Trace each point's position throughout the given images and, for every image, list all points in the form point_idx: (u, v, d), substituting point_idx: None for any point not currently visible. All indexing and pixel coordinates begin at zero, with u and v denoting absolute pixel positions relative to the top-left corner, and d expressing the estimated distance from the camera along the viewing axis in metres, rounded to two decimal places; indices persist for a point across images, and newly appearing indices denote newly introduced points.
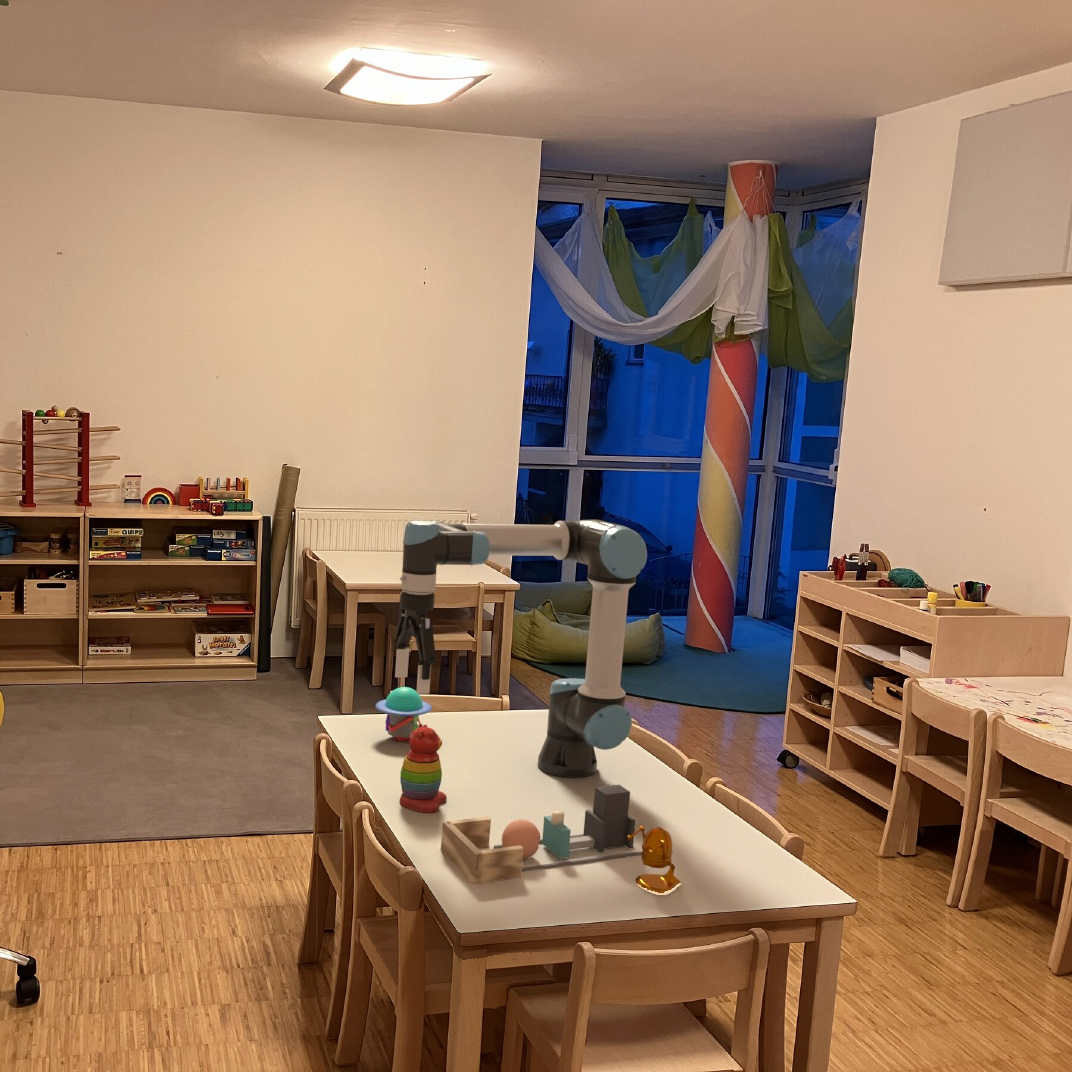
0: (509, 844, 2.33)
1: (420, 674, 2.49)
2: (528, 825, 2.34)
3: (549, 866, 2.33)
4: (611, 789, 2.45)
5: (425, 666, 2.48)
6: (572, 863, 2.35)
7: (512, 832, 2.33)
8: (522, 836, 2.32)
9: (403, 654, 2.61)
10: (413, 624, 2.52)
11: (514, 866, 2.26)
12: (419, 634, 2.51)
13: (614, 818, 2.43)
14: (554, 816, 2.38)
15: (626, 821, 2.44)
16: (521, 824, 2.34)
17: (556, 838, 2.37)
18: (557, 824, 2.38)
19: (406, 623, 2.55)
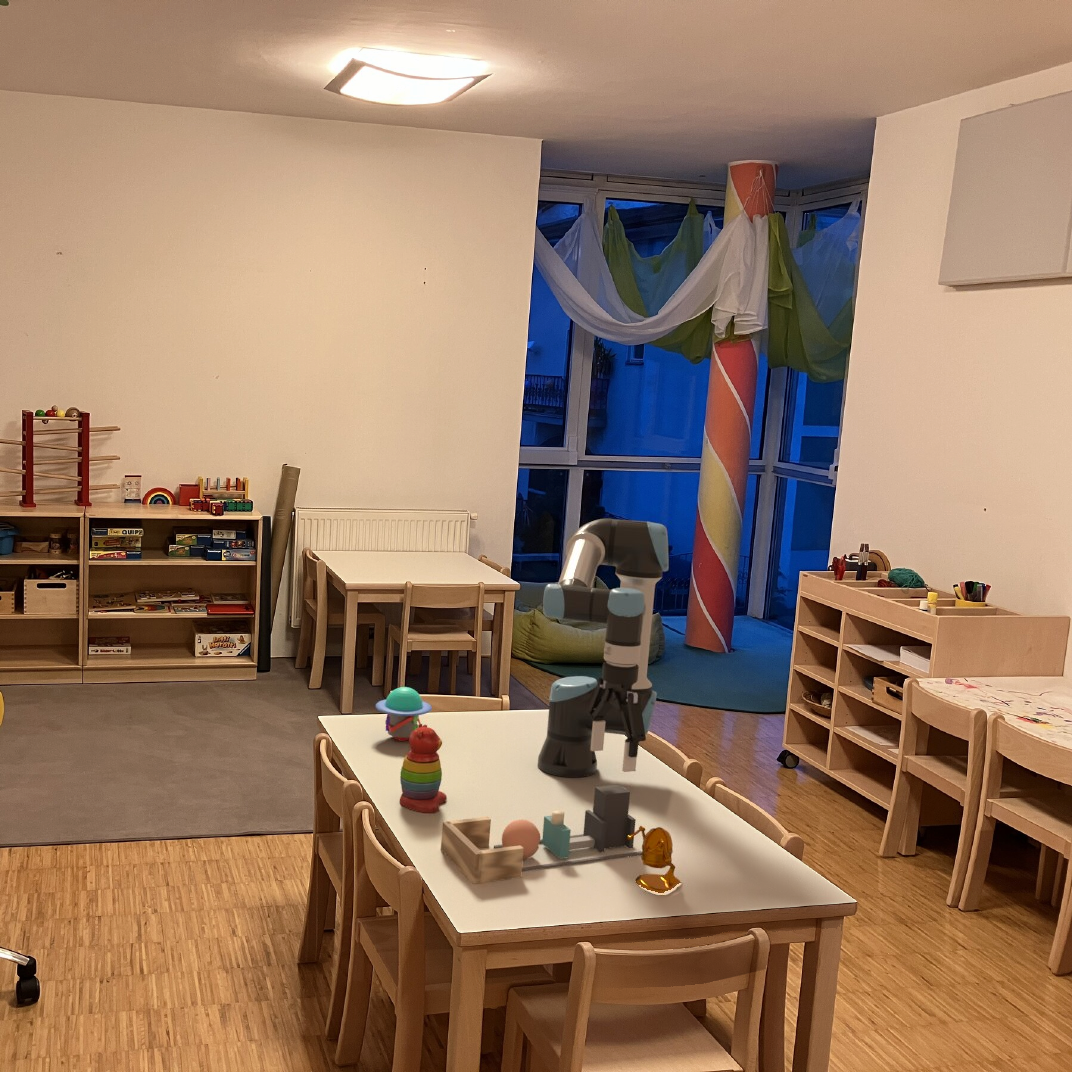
0: (509, 844, 2.33)
1: (627, 751, 2.36)
2: (528, 825, 2.34)
3: (549, 866, 2.33)
4: (611, 789, 2.45)
5: (633, 743, 2.35)
6: (572, 863, 2.35)
7: (512, 832, 2.33)
8: (522, 836, 2.32)
9: (599, 727, 2.48)
10: (617, 698, 2.39)
11: (514, 866, 2.26)
12: (624, 708, 2.38)
13: (614, 818, 2.43)
14: (554, 816, 2.38)
15: (626, 821, 2.44)
16: (521, 824, 2.34)
17: (556, 838, 2.37)
18: (557, 824, 2.38)
19: (607, 696, 2.42)
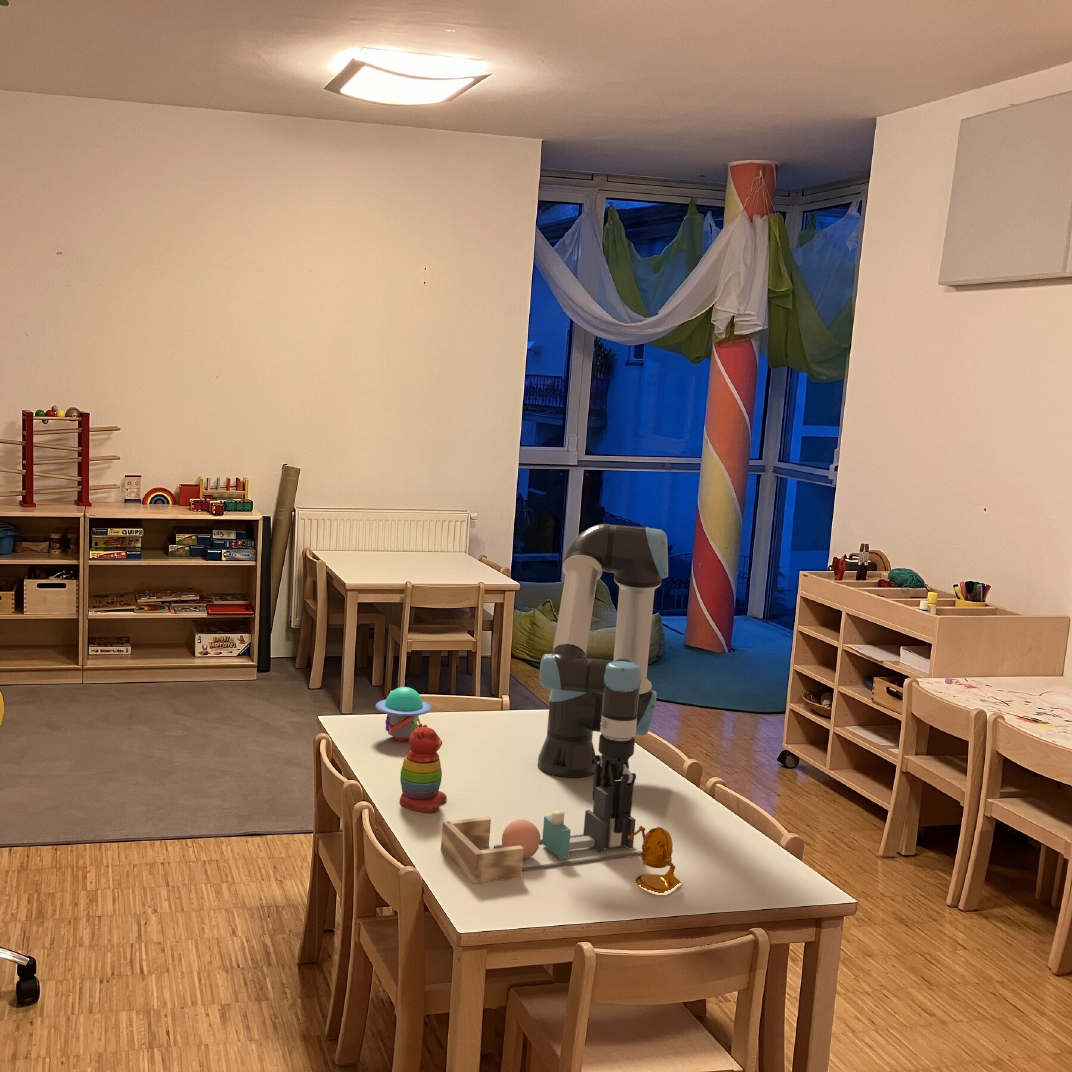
0: (509, 844, 2.33)
1: (613, 827, 2.42)
2: (528, 825, 2.34)
3: (549, 866, 2.33)
4: (611, 789, 2.45)
5: (618, 819, 2.41)
6: (572, 863, 2.35)
7: (512, 832, 2.33)
8: (522, 836, 2.32)
9: None
10: (613, 773, 2.41)
11: (514, 866, 2.26)
12: (617, 784, 2.41)
13: None
14: (554, 816, 2.38)
15: (626, 821, 2.44)
16: (521, 824, 2.34)
17: (556, 838, 2.37)
18: (557, 824, 2.38)
19: (605, 768, 2.44)
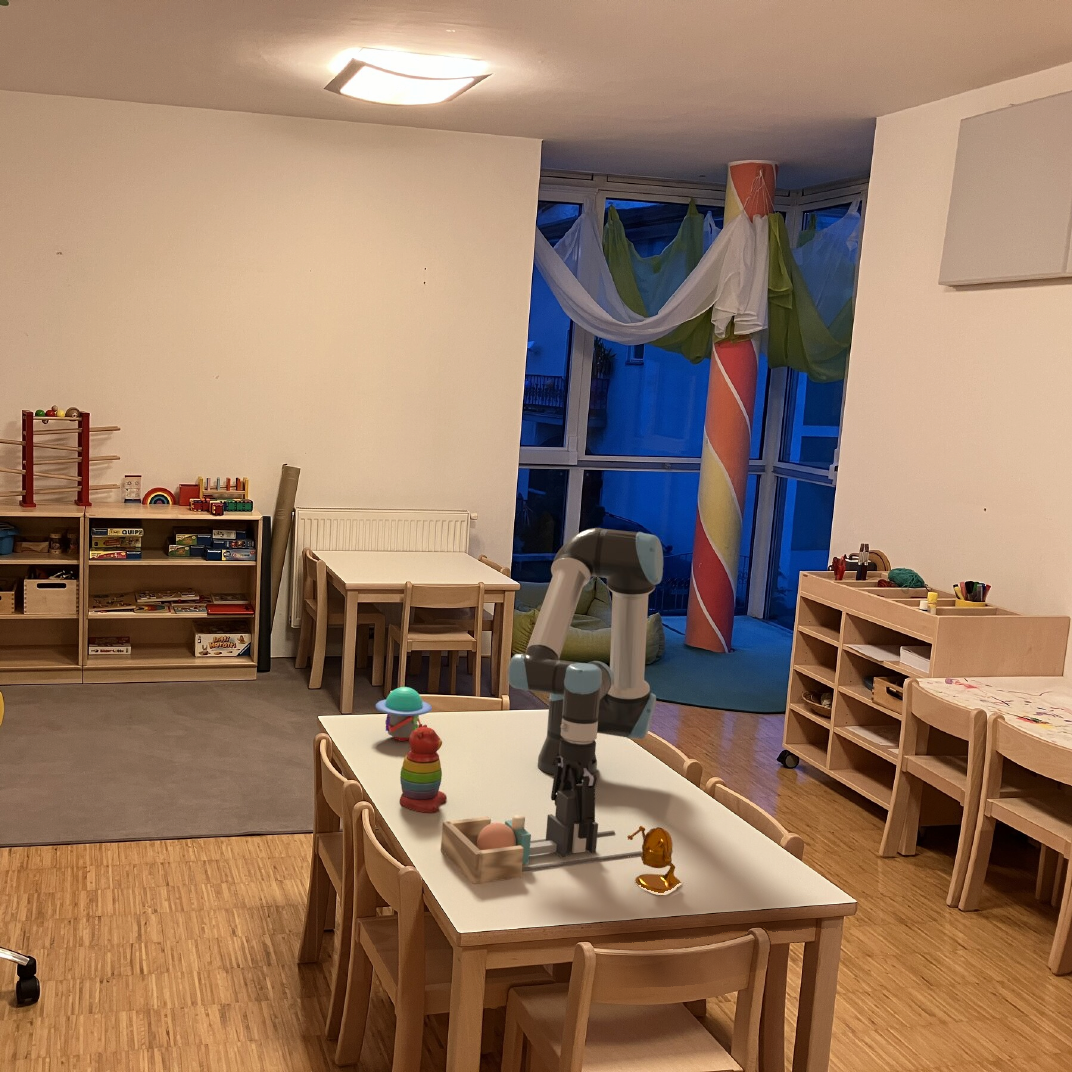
0: (485, 848, 2.30)
1: (577, 832, 2.37)
2: (504, 828, 2.32)
3: (549, 866, 2.33)
4: (573, 793, 2.40)
5: (582, 825, 2.35)
6: (572, 863, 2.35)
7: (488, 835, 2.30)
8: (498, 839, 2.30)
9: None
10: (574, 776, 2.37)
11: (514, 866, 2.26)
12: (579, 788, 2.37)
13: None
14: (515, 820, 2.34)
15: (589, 826, 2.40)
16: (497, 827, 2.32)
17: (516, 843, 2.33)
18: (517, 829, 2.34)
19: (565, 772, 2.40)
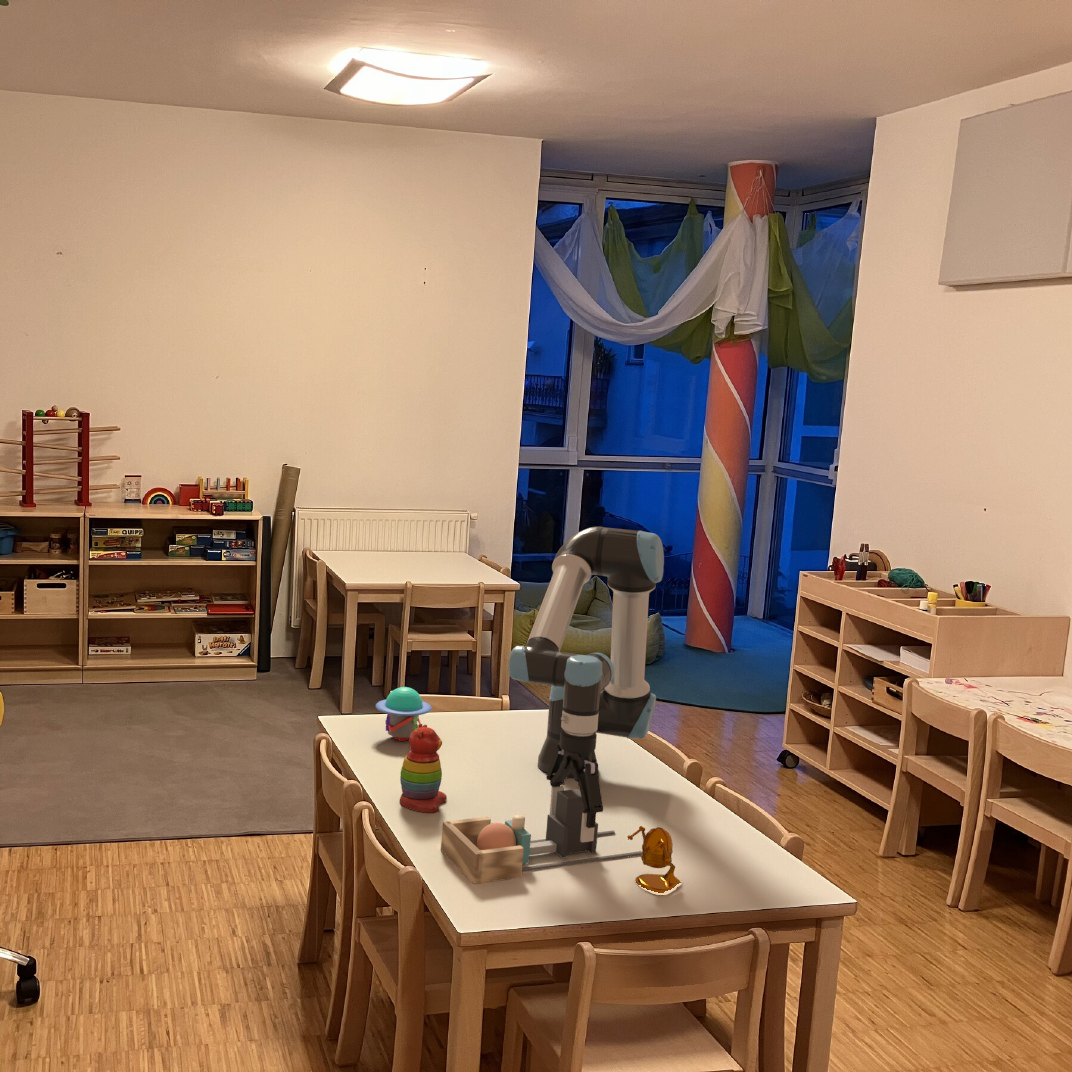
0: (485, 848, 2.30)
1: (585, 821, 2.34)
2: (504, 828, 2.32)
3: (549, 866, 2.33)
4: (573, 793, 2.40)
5: (591, 814, 2.33)
6: (572, 863, 2.35)
7: (488, 835, 2.30)
8: (498, 839, 2.30)
9: None
10: (575, 767, 2.36)
11: (514, 866, 2.26)
12: (582, 778, 2.36)
13: (576, 823, 2.39)
14: (515, 820, 2.34)
15: None
16: (497, 827, 2.32)
17: (516, 843, 2.33)
18: (517, 829, 2.34)
19: (565, 763, 2.40)
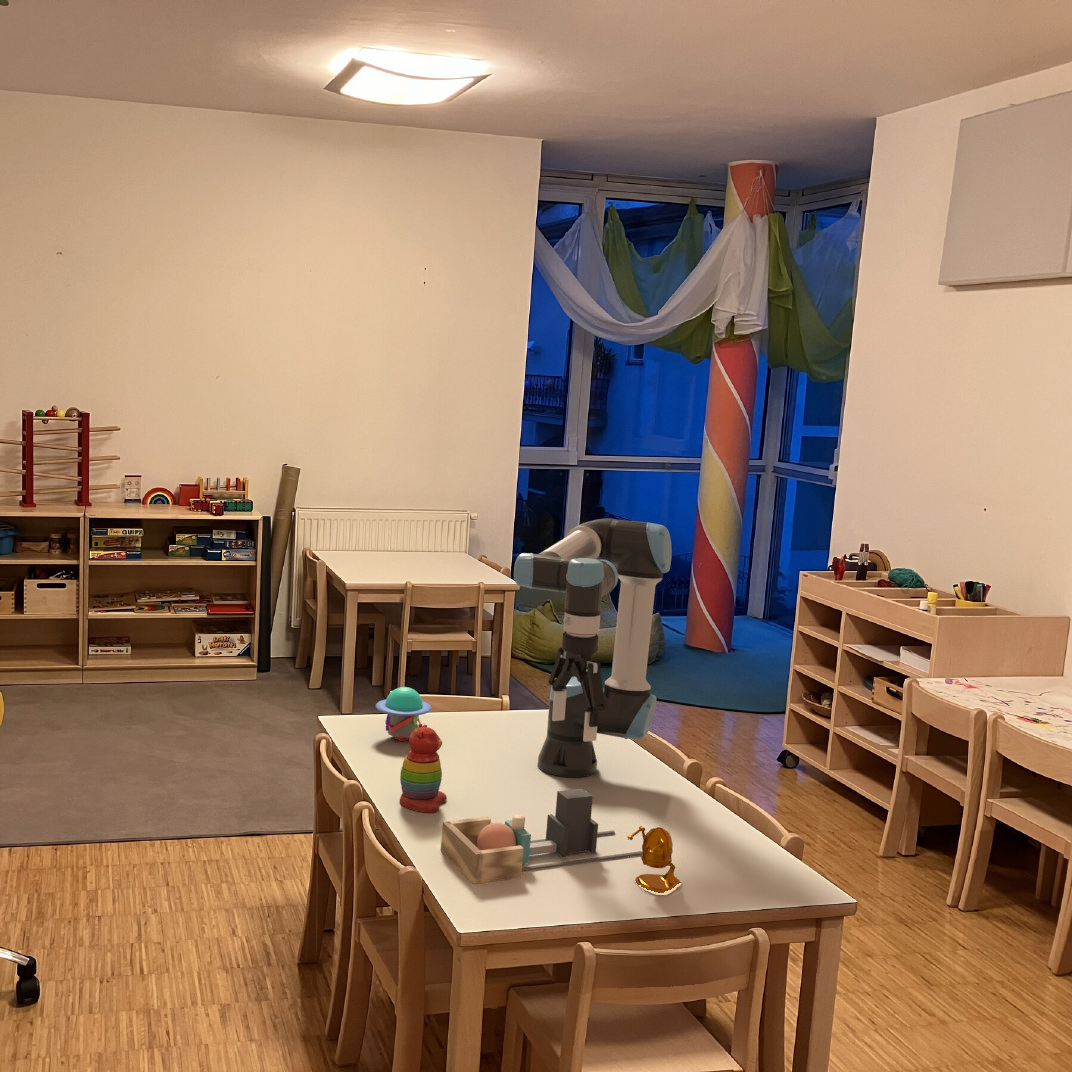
0: (485, 847, 2.30)
1: (588, 721, 2.37)
2: (504, 828, 2.32)
3: (549, 866, 2.33)
4: (573, 793, 2.40)
5: (593, 713, 2.35)
6: (572, 863, 2.35)
7: (488, 835, 2.30)
8: (498, 839, 2.30)
9: (560, 696, 2.49)
10: (578, 668, 2.39)
11: (514, 866, 2.26)
12: (585, 678, 2.38)
13: (576, 823, 2.39)
14: (515, 820, 2.34)
15: (589, 826, 2.40)
16: (497, 827, 2.32)
17: (516, 843, 2.33)
18: (517, 829, 2.34)
19: (568, 666, 2.42)
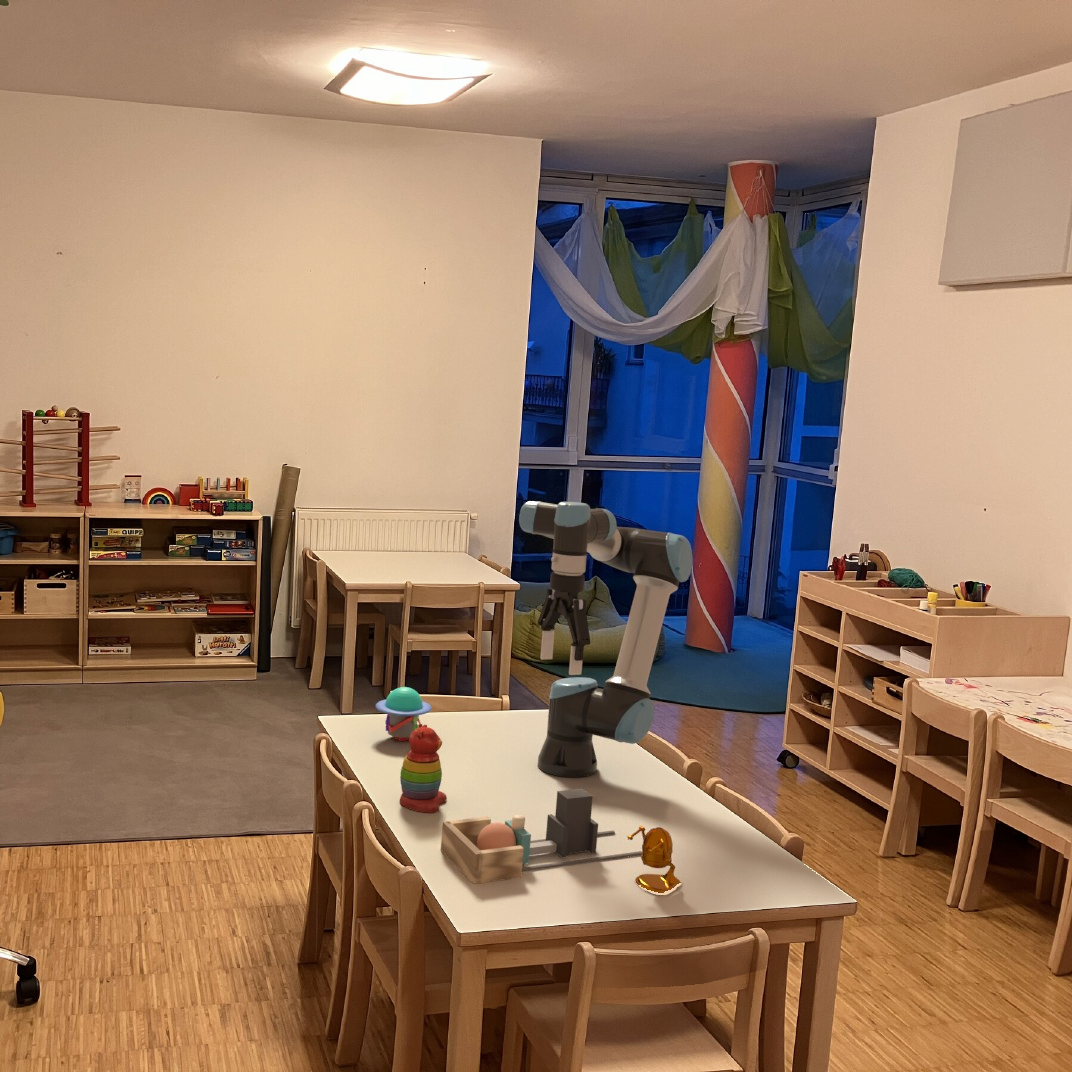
0: (485, 848, 2.30)
1: (573, 655, 2.49)
2: (504, 828, 2.32)
3: (549, 866, 2.33)
4: (573, 793, 2.40)
5: (579, 647, 2.48)
6: (572, 863, 2.35)
7: (488, 835, 2.30)
8: (498, 839, 2.30)
9: (549, 636, 2.61)
10: (564, 605, 2.51)
11: (514, 866, 2.26)
12: (571, 615, 2.51)
13: (576, 823, 2.39)
14: (515, 820, 2.34)
15: (589, 826, 2.40)
16: (497, 827, 2.32)
17: (516, 843, 2.33)
18: (517, 829, 2.34)
19: (555, 604, 2.55)
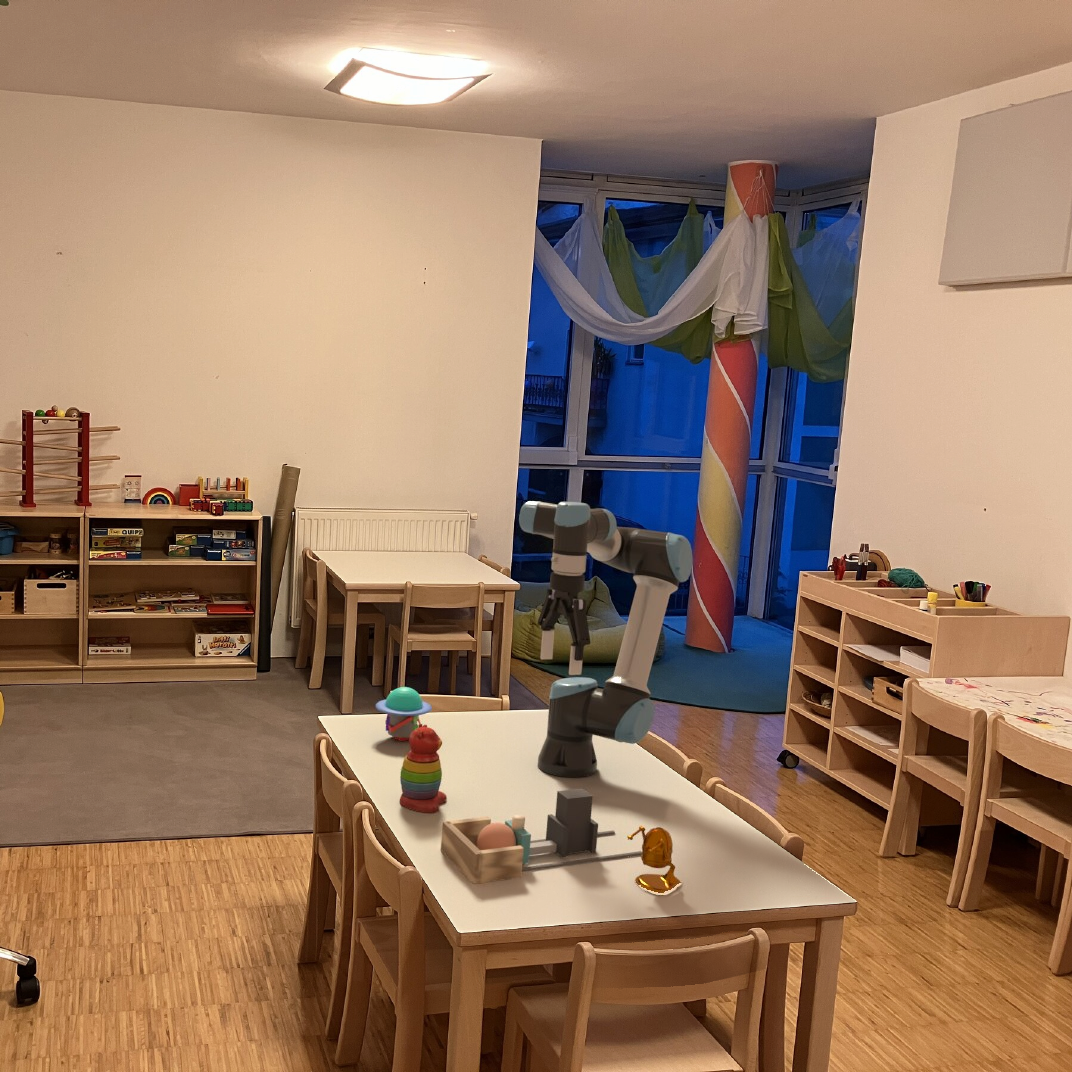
0: (485, 848, 2.30)
1: (573, 655, 2.49)
2: (504, 828, 2.32)
3: (549, 866, 2.33)
4: (574, 793, 2.40)
5: (579, 647, 2.48)
6: (572, 863, 2.35)
7: (488, 835, 2.30)
8: (498, 839, 2.30)
9: (549, 636, 2.61)
10: (564, 605, 2.51)
11: (514, 866, 2.26)
12: (571, 615, 2.51)
13: (576, 823, 2.39)
14: (515, 820, 2.34)
15: (589, 826, 2.40)
16: (497, 827, 2.32)
17: (516, 843, 2.33)
18: (517, 829, 2.34)
19: (555, 604, 2.55)
